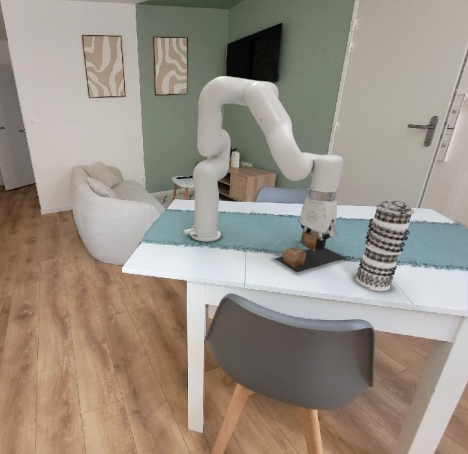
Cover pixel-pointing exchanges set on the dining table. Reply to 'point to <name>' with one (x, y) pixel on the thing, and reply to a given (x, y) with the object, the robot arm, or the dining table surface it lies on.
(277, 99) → the robot arm
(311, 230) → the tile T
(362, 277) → the decorative candle
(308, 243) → the brown cube
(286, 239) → the dining table surface
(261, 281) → the dining table surface
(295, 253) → the brown wooden cube
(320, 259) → the word mat
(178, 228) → the dining table surface
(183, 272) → the dining table surface
